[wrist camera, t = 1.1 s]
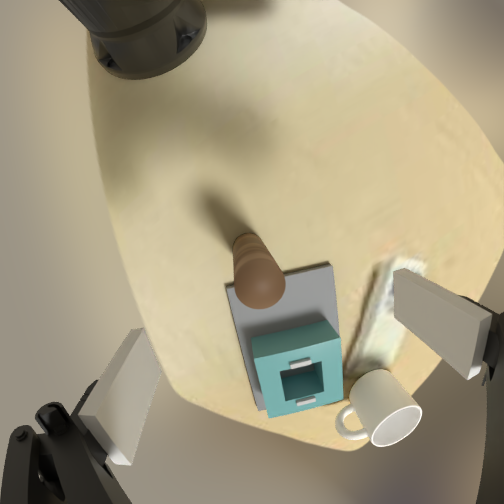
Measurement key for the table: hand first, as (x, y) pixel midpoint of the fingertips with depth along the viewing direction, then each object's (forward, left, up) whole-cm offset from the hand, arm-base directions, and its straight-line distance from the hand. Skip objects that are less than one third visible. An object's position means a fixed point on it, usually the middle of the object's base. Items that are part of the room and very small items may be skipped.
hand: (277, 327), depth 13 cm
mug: (+27, +13, -21) cm, 36 cm away
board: (+14, +3, -20) cm, 25 cm away
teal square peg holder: (+16, +3, -19) cm, 25 cm away
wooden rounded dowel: (0, 0, -21) cm, 21 cm away
